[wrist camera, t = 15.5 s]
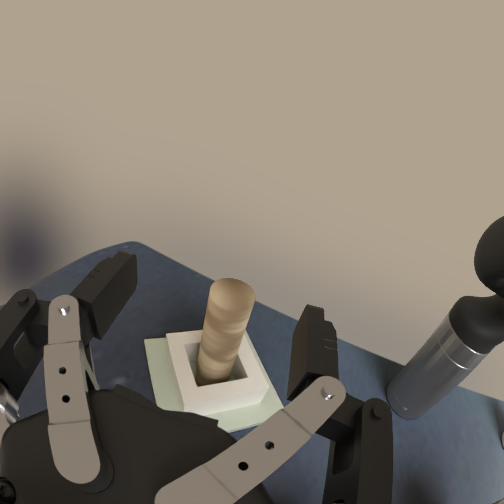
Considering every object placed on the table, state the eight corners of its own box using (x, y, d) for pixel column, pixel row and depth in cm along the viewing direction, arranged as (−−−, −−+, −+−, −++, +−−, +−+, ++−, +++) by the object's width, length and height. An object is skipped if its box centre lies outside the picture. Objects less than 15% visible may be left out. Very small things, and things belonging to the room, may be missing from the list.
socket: (243, 332, 45) (250, 308, 42) (284, 417, 33) (298, 399, 30) (144, 343, 38) (142, 319, 35) (166, 444, 27) (165, 430, 24)
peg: (221, 364, 38) (245, 277, 30) (231, 389, 35) (262, 306, 26) (191, 368, 36) (204, 279, 28) (200, 395, 33) (217, 311, 24)
